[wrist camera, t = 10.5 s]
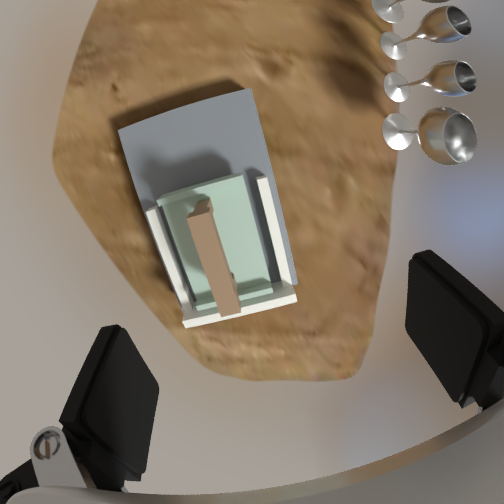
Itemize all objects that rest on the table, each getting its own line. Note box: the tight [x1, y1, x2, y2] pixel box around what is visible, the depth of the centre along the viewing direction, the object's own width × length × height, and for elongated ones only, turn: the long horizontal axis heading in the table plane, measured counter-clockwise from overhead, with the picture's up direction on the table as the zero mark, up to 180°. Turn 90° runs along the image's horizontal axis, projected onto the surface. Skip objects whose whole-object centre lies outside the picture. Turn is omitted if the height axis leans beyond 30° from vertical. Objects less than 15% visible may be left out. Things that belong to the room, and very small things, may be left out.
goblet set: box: [372, 0, 477, 165], centre depth 21 cm, size 28×6×13 cm, turn 2°
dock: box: [118, 88, 298, 328], centre depth 31 cm, size 22×14×6 cm, turn 14°
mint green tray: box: [157, 172, 273, 317], centre depth 28 cm, size 12×8×8 cm, turn 14°
